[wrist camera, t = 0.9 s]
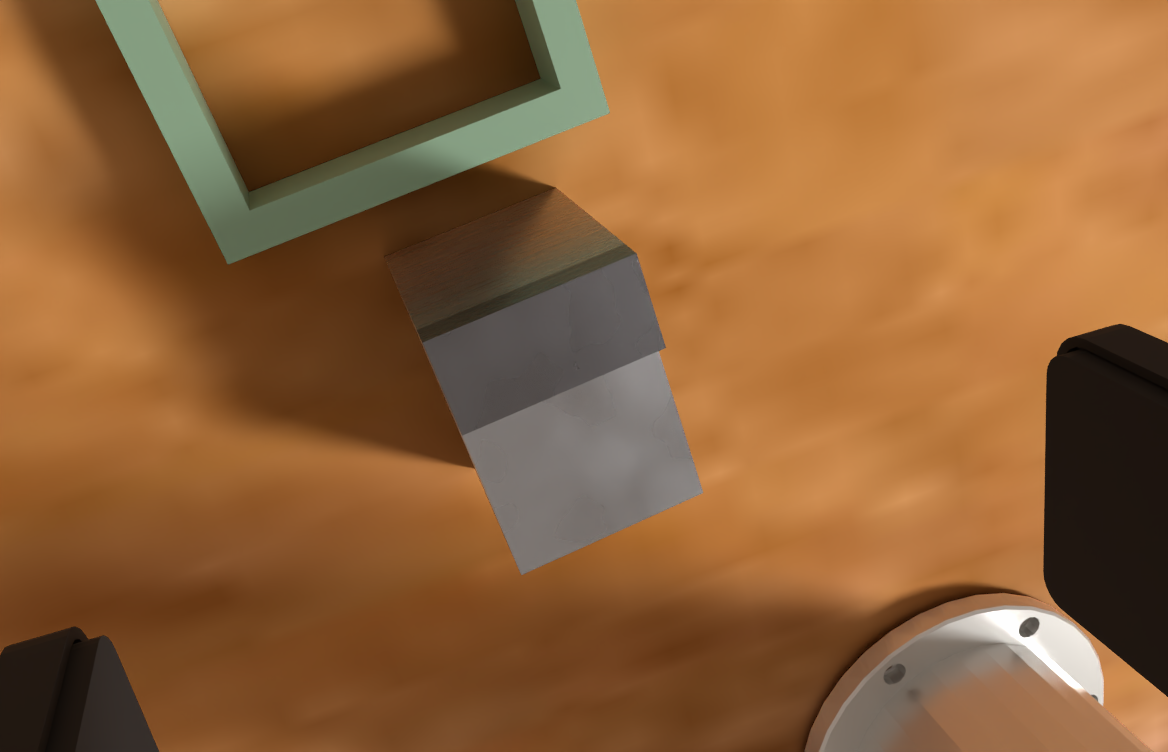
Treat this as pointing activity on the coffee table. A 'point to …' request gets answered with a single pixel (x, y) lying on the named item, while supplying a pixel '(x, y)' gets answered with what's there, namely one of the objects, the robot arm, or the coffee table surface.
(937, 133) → the coffee table surface
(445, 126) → the frame
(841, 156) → the coffee table surface
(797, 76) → the coffee table surface
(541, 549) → the chute block
